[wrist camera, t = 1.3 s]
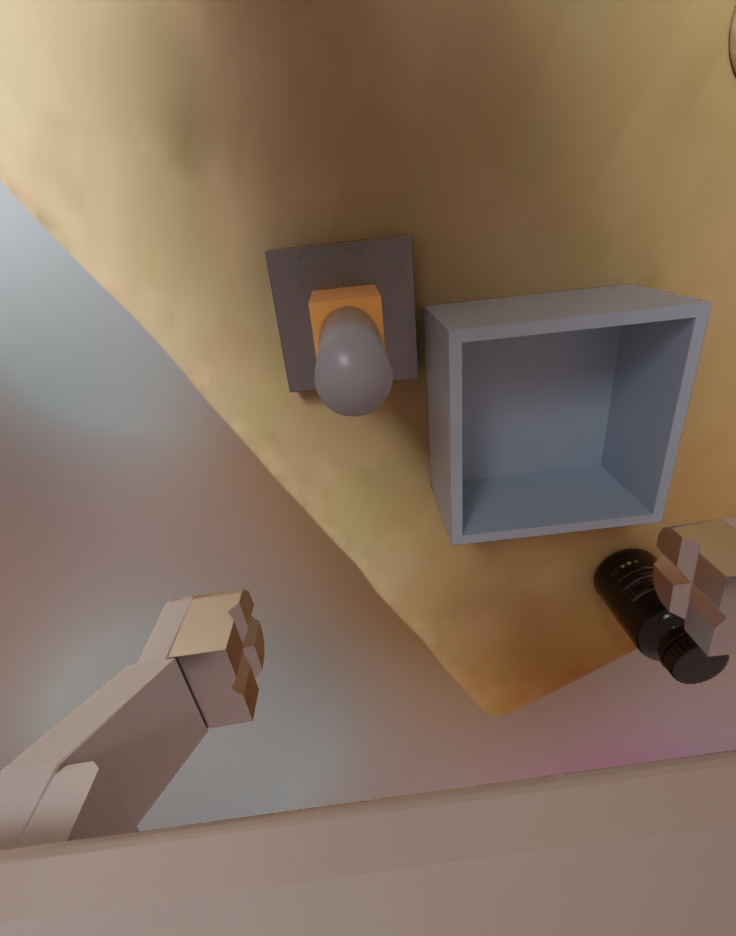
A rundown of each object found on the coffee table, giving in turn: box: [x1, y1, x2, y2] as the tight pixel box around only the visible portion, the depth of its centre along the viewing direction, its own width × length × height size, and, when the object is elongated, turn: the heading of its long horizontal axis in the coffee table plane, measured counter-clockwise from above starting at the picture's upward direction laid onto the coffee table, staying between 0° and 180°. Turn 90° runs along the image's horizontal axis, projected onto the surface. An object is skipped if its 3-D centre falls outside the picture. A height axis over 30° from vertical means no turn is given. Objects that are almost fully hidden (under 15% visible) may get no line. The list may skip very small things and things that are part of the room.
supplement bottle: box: [594, 549, 729, 684], centre depth 45 cm, size 7×7×12 cm
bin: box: [424, 284, 712, 545], centre depth 37 cm, size 16×16×9 cm
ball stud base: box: [265, 235, 418, 392], centre depth 34 cm, size 10×10×6 cm
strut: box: [308, 284, 393, 416], centre depth 29 cm, size 4×4×15 cm
